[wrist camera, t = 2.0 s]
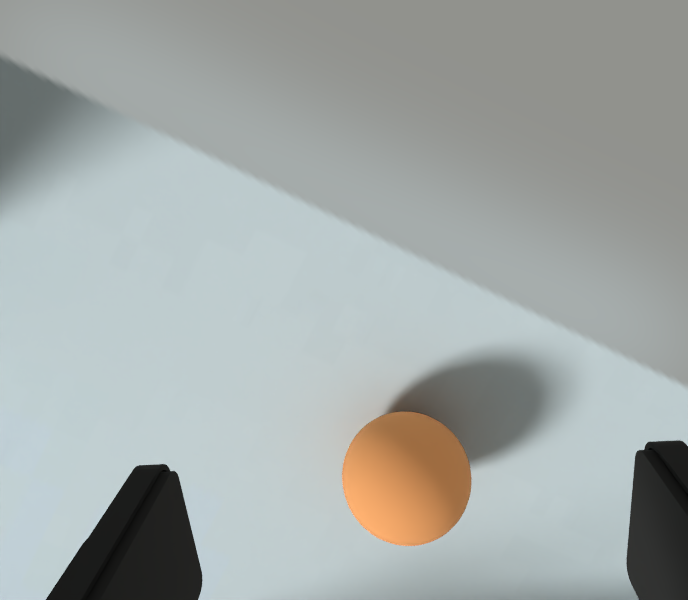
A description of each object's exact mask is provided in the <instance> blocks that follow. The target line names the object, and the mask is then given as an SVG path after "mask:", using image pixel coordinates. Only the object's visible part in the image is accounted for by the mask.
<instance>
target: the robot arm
mask: <svg viewBox="0 0 688 600" xmlns="http://www.w3.org/2000/svg"><path fill="white" fill-rule="evenodd" d="M627 571H628V575H629V579H630V581H631V584H632V586H633V588H634V590H635V592H636V594H637V596H638V598H639V600H688V446H687V445H686V444H685V443H684V442H683V441H658V442H648V443H647V444H646V446H645V449H644V450H639V451H637V453H636V456H635V466H634V478H633V490H632V502H631V514H630V526H629V538H628V550H627ZM201 587H202V572H201V567H200V563H199V559H198V555H197V551H196V547H195V543H194V539H193V534H192V530H191V526H190V522H189V518H188V514H187V510H186V506H185V501H184V497H183V493H182V489H181V485H180V481H179V477H178V474H177V473H176V472H175V471H170V469H169V467H168V466H167V465H165V464H160V465H139V466H136V467H135V468H134V470H133V471H132V473H131V474H130V476H129V477H128V479H127V480H126V482H125V483H124V485H123V486H122V488H121V489H120V491H119V492H118V494H117V495H116V497H115V498H114V500H113V501H112V503H111V504H110V506H109V507H108V509H107V510H106V512H105V513H104V515H103V516H102V518H101V519H100V521H99V522H98V524H97V525H96V527H95V529H94V530H93V532H92V533H91V535H90V536H89V538H88V539H87V540H86V541H85V542H84V543H83V545H82V546H81V548H80V549H79V551H78V552H77V554H76V555H75V557H74V558H73V560H72V561H71V563H70V564H69V566H68V567H67V569H66V570H65V572H64V573H63V575H62V576H61V578H60V579H59V581H58V582H57V584H56V585H55V587H54V588H53V590H52V591H51V593H50V594H49V596H48V597H47V599H46V600H198V598H199V595H200V592H201Z"/></svg>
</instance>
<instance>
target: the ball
mask: <svg viewBox="0 0 688 600" xmlns="http://www.w3.org/2000/svg"><path fill="white" fill-rule="evenodd" d="M342 481H343V489H344V494H345V498H346V500H347V503H348V505H349V508H350V510H351V511H352V513H353V515H354V516H355V517H356V519H357V520H358V521H359V523H360V524H361V525H362V526H363V527H364V528H365V529H366V530H368V531H369V532H370V533H371V534H373V535H374V536H376V537H377V538H379V539H381V540H384V541H386V542H389V543H392V544H396V545H403V546H415V545H422V544H425V543H429V542H431V541H434V540H436V539H438V538H440V537H441V536H443V535H444V534H446V533H447V532H448V531H449V530H450V529H451V528H452V527H453V526H454V525H455V524H456V523H457V522H458V521H459V519H460V518H461V516H462V514H463V512H464V511H465V509H466V506H467V503H468V500H469V497H470V492H471V471H470V465H469V461H468V458H467V455H466V453H465V451H464V448H463V447H462V445H461V443H460V442H459V440H458V439H457V437H456V436H455V435H454V434H453V433H452V432H451V431H450V430H449V429H448V428H447V427H446V426H445V425H443V424H442V423H440V422H439V421H437V420H435V419H433V418H431V417H429V416H427V415H424V414H420V413H416V412H393V413H389V414H386V415H383V416H380V417H378V418H376V419H374V420H373V421H371V422H370V423H368V424H367V425H366V426H365V427H363V428H362V429H361V430H360V432H359V433H358V434H357V435H356V436H355V438H354V439H353V441H352V442H351V444H350V446H349V448H348V451H347V453H346V456H345V459H344V464H343V471H342Z"/></svg>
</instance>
